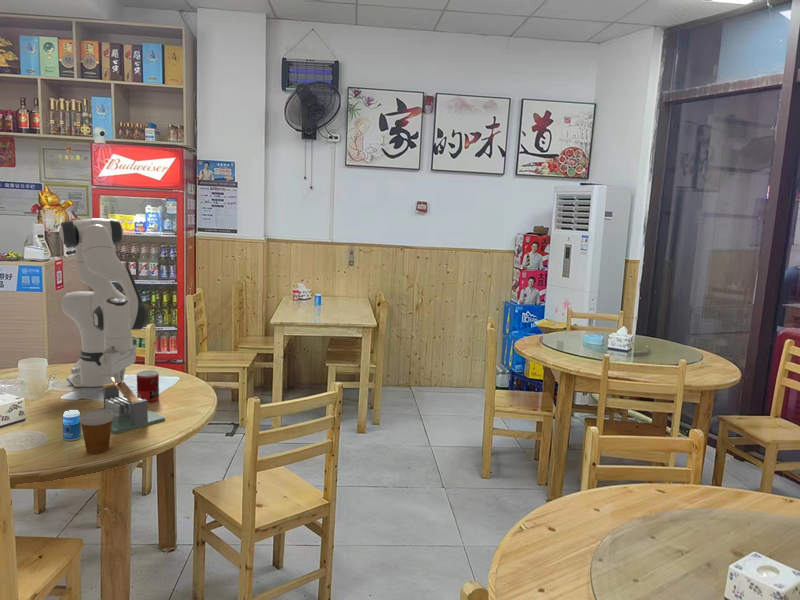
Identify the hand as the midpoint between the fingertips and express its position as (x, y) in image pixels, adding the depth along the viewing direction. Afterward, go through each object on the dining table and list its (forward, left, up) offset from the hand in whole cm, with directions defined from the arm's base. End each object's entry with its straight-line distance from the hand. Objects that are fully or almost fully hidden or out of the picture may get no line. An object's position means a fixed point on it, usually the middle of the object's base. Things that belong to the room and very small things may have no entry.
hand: (119, 381), depth 211 cm
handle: (+3, 0, -4) cm, 5 cm away
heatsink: (+3, 0, -13) cm, 13 cm away
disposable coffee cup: (+23, -19, -13) cm, 32 cm away
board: (+2, 0, -13) cm, 13 cm away
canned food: (-10, +16, -13) cm, 24 cm away
